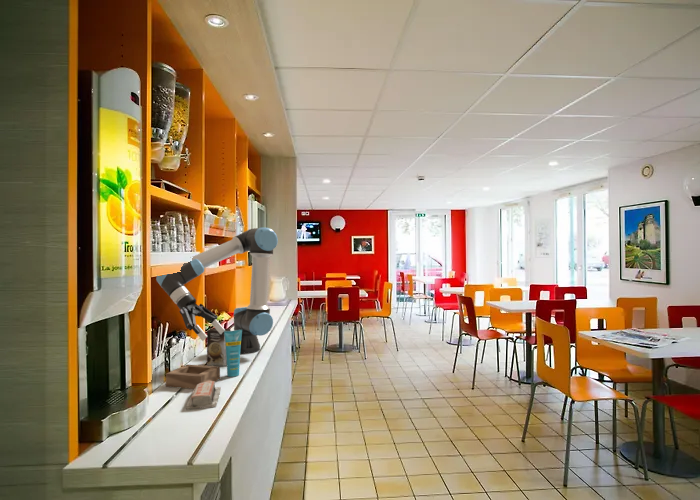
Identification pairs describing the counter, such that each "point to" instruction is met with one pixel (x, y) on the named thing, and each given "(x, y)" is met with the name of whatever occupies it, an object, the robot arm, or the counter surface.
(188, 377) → the collar
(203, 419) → the counter surface
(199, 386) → the packaged product
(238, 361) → the tube
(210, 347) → the coffee box
